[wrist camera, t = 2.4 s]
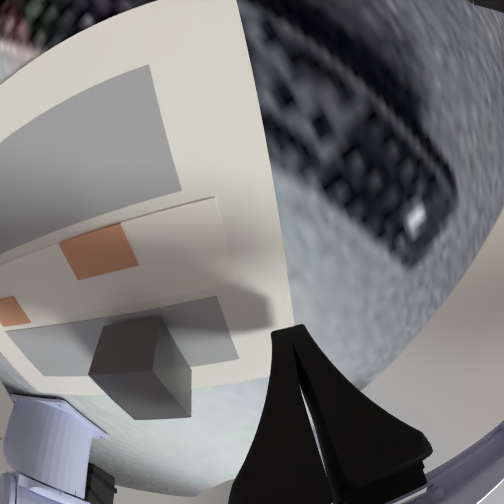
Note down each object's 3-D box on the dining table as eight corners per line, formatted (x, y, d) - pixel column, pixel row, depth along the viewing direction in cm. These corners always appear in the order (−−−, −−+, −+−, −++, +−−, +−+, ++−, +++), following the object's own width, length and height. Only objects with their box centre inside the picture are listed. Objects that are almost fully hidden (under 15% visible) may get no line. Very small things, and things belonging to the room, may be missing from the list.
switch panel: (44, 378, 16) (38, 394, 15) (-73, 177, 7) (-89, 188, 5) (293, 349, 16) (300, 371, 15) (229, -2, 7) (232, -19, 5)
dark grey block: (140, 375, 13) (134, 419, 11) (103, 326, 11) (87, 374, 9) (191, 369, 13) (191, 417, 11) (160, 316, 11) (152, 370, 9)
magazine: (106, 485, 35) (90, 534, 20) (85, 445, 34) (58, 499, 19) (122, 488, 36) (109, 539, 21) (102, 449, 34) (78, 506, 20)
